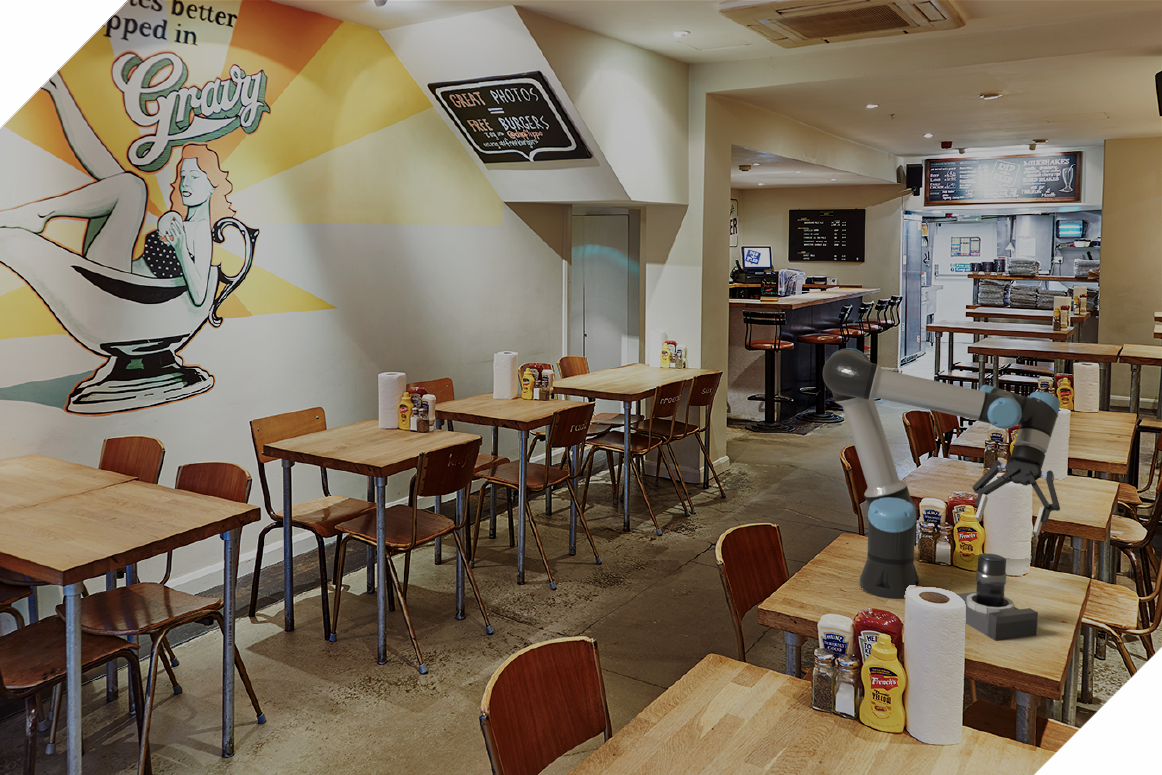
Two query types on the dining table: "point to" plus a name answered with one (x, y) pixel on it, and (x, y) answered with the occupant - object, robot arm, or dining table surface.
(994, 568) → the lens
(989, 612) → the camera body
